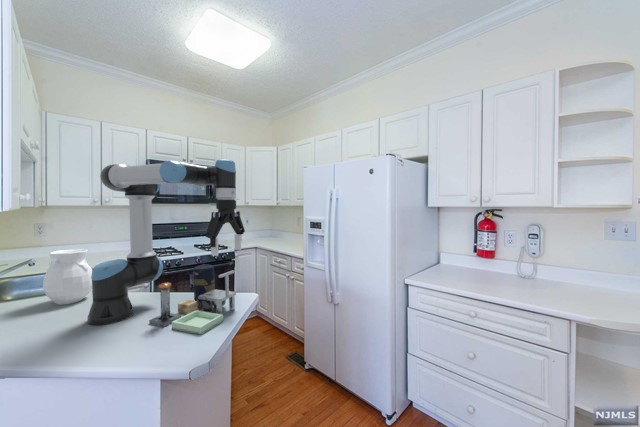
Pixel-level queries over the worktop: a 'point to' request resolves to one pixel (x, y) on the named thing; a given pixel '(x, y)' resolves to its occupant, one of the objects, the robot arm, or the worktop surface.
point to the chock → (187, 306)
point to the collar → (163, 323)
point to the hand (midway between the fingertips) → (227, 252)
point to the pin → (165, 300)
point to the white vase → (68, 276)
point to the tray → (197, 322)
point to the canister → (203, 280)
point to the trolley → (218, 297)
